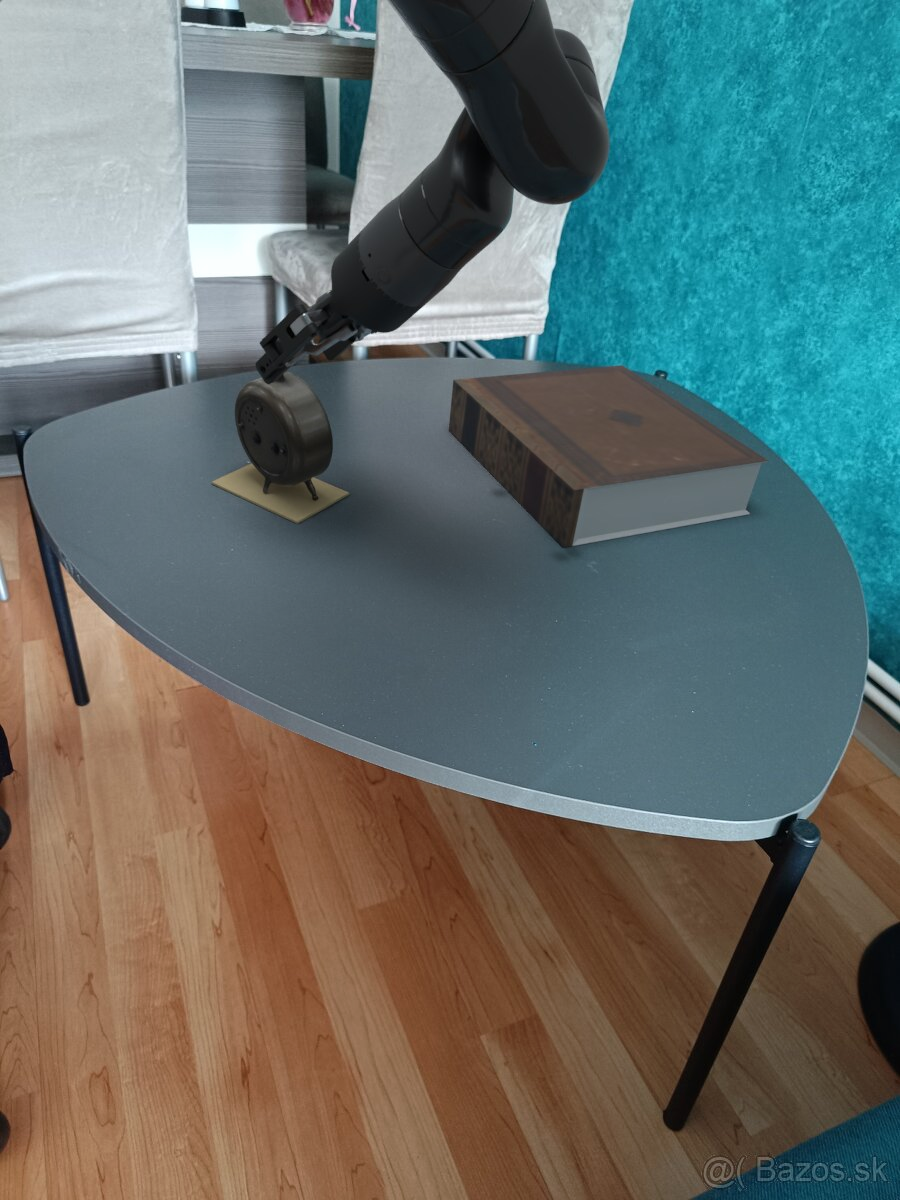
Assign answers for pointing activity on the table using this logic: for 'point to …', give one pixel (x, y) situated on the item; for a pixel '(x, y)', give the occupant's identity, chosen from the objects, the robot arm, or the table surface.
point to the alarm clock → (284, 431)
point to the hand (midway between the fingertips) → (295, 362)
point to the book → (601, 452)
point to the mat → (280, 494)
